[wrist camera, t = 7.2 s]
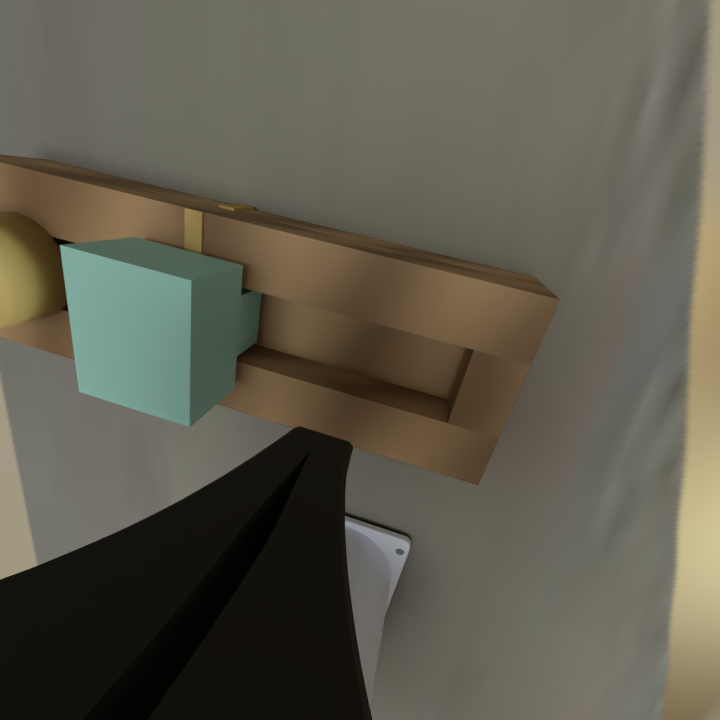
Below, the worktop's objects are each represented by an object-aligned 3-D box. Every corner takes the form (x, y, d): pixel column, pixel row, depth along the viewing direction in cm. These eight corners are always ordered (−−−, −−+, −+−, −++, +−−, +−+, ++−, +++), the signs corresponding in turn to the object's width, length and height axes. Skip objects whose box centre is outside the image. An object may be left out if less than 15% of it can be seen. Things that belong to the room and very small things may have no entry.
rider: (269, 257, 16) (190, 280, 11) (258, 368, 18) (189, 427, 13) (173, 232, 16) (59, 245, 11) (174, 343, 18) (78, 391, 14)
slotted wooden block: (535, 274, 16) (586, 317, 10) (472, 433, 19) (481, 535, 13) (42, 156, 19) (-146, 134, 13) (64, 313, 22) (-76, 353, 16)
